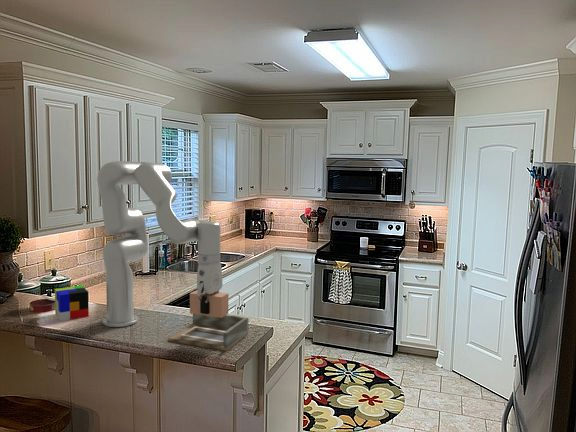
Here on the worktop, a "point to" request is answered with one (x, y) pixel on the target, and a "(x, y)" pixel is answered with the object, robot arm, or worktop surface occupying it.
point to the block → (216, 304)
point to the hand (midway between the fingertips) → (209, 310)
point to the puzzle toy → (71, 303)
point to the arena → (213, 331)
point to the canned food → (42, 305)
